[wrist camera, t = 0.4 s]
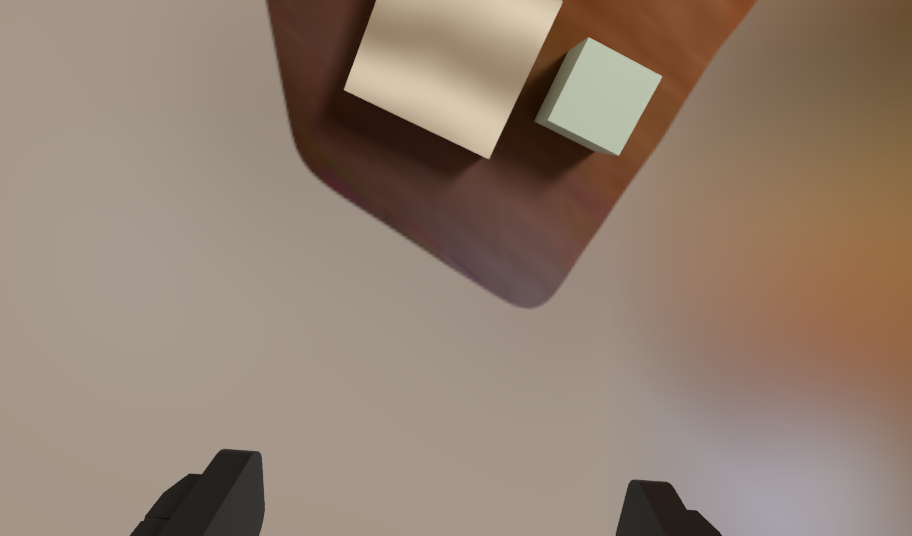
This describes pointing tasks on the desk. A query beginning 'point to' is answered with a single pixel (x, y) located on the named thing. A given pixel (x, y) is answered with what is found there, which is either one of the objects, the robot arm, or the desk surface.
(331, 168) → the desk surface
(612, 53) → the sage cube
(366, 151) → the desk surface
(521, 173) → the desk surface
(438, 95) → the birch block
